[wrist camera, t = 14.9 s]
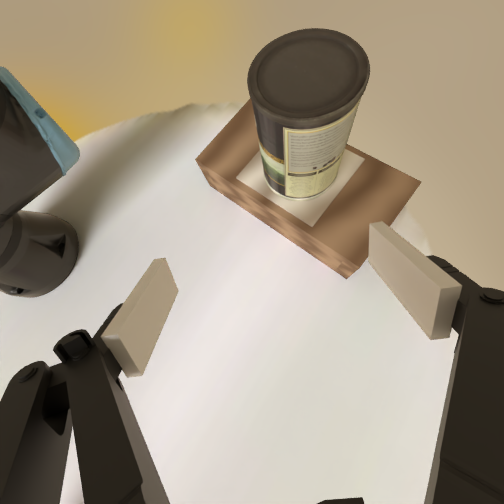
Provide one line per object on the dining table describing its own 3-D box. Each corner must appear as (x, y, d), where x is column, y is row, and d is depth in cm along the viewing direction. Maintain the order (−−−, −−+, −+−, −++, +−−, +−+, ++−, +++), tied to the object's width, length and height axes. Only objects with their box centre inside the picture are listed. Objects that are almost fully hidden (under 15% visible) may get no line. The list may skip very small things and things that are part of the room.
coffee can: (251, 188, 35) (227, 102, 22) (281, 130, 37) (276, 19, 24) (322, 213, 33) (344, 134, 19) (350, 149, 35) (387, 37, 21)
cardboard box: (210, 185, 45) (194, 158, 38) (258, 130, 47) (252, 94, 40) (346, 278, 37) (360, 267, 30) (397, 208, 39) (422, 180, 32)
